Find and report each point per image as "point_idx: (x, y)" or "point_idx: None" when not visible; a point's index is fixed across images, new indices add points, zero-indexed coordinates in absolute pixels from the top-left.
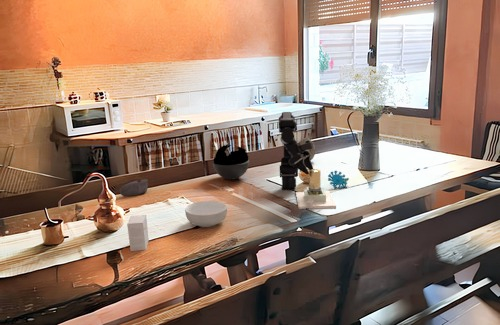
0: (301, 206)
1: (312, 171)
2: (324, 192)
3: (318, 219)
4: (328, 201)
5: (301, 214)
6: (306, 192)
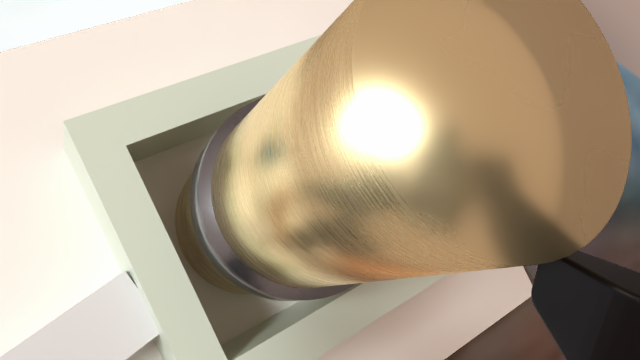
0: (522, 268)
1: (579, 138)
2: (240, 69)
3: (618, 63)
4: (288, 40)
5: None
6: (330, 319)
